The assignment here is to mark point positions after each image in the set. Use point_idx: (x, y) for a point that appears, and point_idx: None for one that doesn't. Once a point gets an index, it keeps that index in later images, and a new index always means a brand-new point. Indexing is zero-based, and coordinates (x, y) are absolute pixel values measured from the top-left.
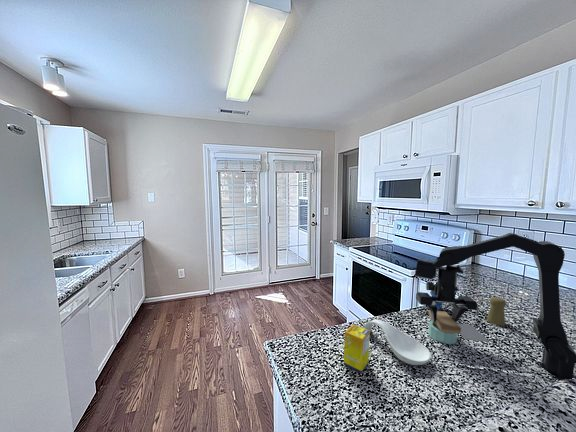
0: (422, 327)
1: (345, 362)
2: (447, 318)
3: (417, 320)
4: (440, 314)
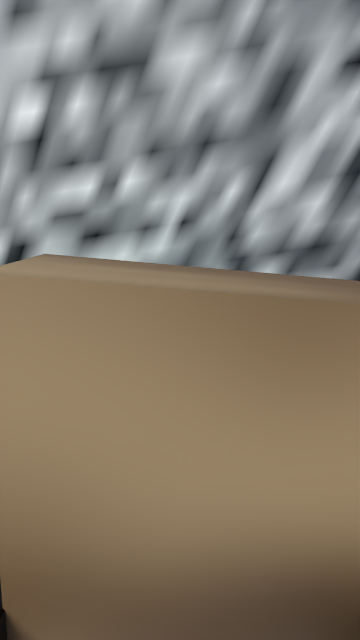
0: (43, 225)
1: None
2: (265, 636)
3: (32, 19)
4: (208, 498)
